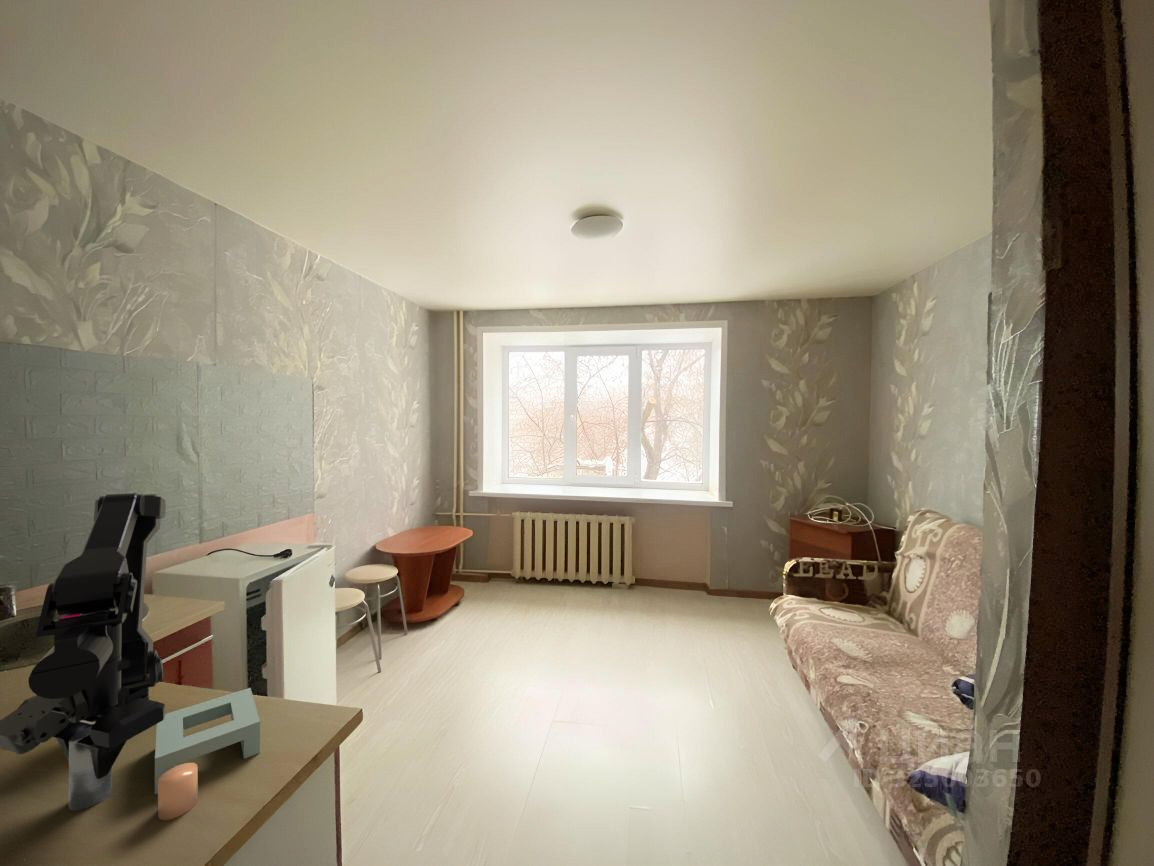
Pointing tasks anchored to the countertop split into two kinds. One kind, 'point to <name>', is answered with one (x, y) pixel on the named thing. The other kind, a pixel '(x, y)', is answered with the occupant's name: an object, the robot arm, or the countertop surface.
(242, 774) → the countertop surface
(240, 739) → the slate pin jig
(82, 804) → the steel pin
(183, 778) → the terracotta stub
